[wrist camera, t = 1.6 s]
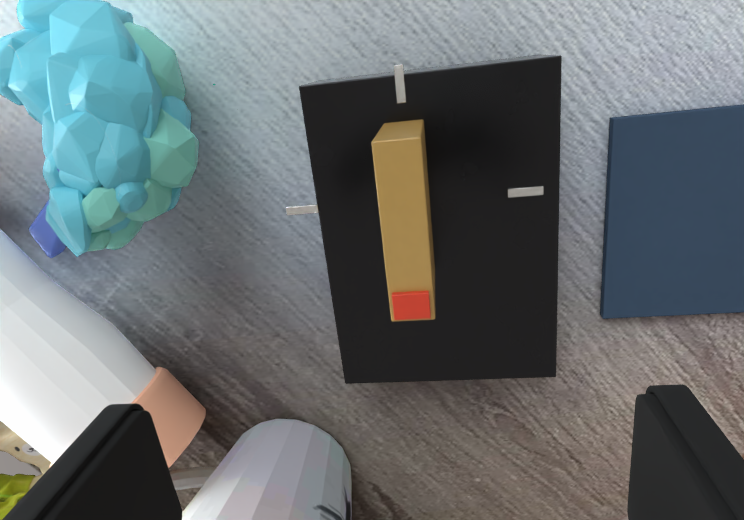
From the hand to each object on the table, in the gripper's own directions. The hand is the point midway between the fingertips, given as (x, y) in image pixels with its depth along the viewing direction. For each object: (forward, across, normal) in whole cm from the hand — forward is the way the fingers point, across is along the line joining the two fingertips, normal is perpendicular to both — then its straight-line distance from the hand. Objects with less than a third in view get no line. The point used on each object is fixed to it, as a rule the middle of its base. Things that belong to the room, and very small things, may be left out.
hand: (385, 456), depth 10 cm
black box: (+17, -1, 0) cm, 17 cm away
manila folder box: (+13, 0, -1) cm, 13 cm away
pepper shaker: (+14, +15, +12) cm, 24 cm away
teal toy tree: (+17, +14, -6) cm, 23 cm away
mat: (+17, -14, +2) cm, 22 cm away
